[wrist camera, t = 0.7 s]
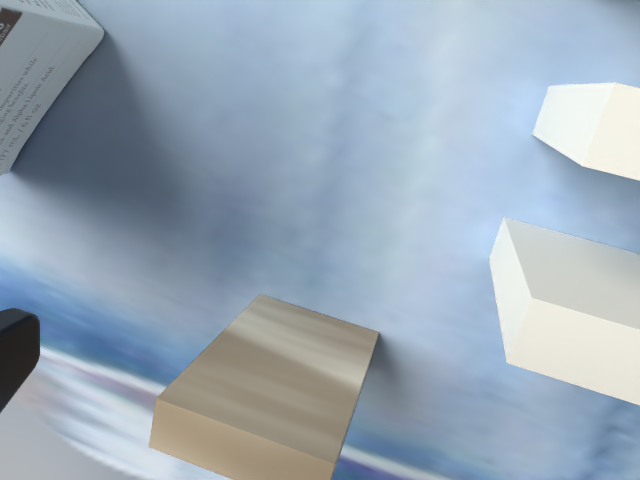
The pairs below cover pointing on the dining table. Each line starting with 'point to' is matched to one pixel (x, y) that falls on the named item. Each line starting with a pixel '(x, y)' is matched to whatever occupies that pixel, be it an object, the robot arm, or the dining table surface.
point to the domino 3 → (569, 308)
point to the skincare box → (37, 63)
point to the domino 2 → (594, 126)
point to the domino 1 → (267, 395)
